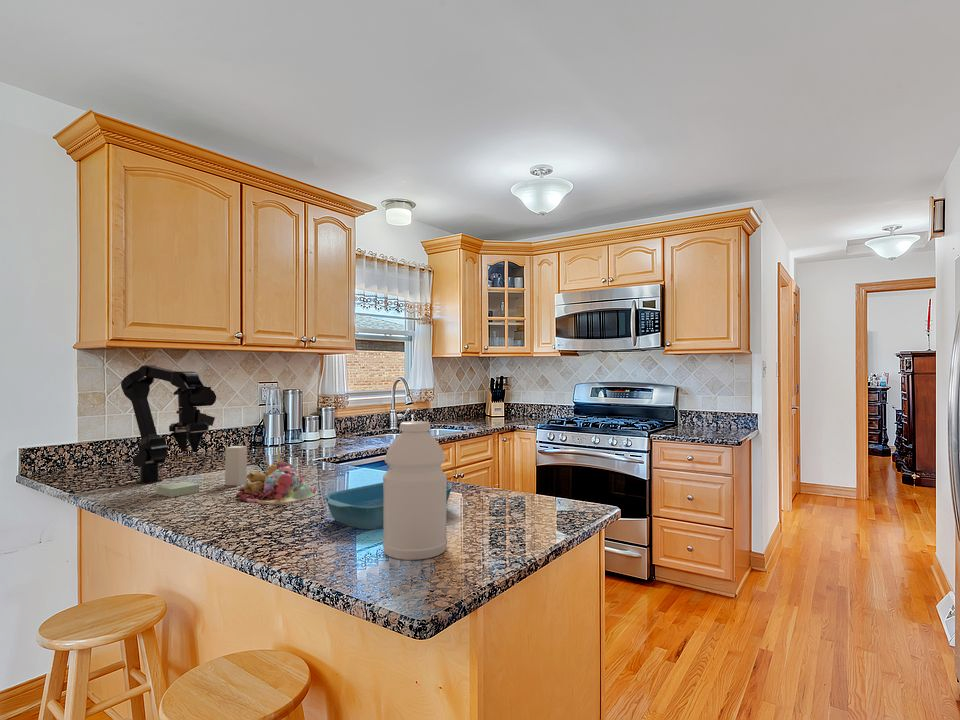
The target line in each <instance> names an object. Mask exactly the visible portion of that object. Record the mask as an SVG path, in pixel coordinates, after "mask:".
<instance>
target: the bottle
mask: <svg viewBox="0 0 960 720" xmlns="http://www.w3.org/2000/svg"><path fill="white" fill-rule="evenodd" d="M399 431H401V433H400V434H398V436H397V437H396V438H395V439H394V440H393V441H392V442H391V444H390V445H389V447H388V449H387V451H386V454H385V455H384V456H385V457H384V463H385V464H386V465H387V466H388V470H387V471H386V472H385V473H384V474H383V476H382V481H383V482H382V483H383V528H382V529H383V531H382V532H383V535H382V536H383V540H382V547H383V553H384V554H385V555H386V556H387V557H390V558H393V559H396V560H406V561H417V560H419V561H420V560H425V559H431V558H434V557H437V556H439V555H441V554H443V553H444V552H445V550H446V549H447V545H448V539H447V504H446V491H447V485H448V484H447V481H448V475H447V473H446V472H444V471H443V469H442V467H441V466H442V465H443V463H444V462H445V461H446V457H445V453H444V451H443V448H442V446H441V445H440V443H439V442H438V441H437V439H436V438H435V437H434V436H433V435H432V434H430V433H429V431H431V423H430V422H429V421H425V420H424V421H423V420H422V421H421V420H416V421H415V420H411V421H409V420H407V421H402V422H400V423H399Z"/></svg>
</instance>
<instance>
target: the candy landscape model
mask: <svg viewBox="0 0 960 720" xmlns="http://www.w3.org/2000/svg"><path fill="white" fill-rule="evenodd" d="M276 467H277V465H272V464H269V465H268V468H267V472H266V471H265V472H264V473H263V472H261V471H259V472H258V471H251V472H249V474H247V476H246V477H247V480H249V482H247V483H245V484H244V487H241V488H240V489H238V492H236V495H235V497H234V499H236V498H238V499H237V500H238V501H243V502H249V503H250V502H251V503H257V504H261V505H271V506H272V505H284V504H286V505H288V504H291V503H292V502H293V503H297V501H298V502H301V501H300V500H302V501H305V499H306V500H309V499H308V498H310V499H311V497H312V498H314V497H313V496H315V497H316V496H317V495H318V491H317V488H316V487H312V486H311V485H309V483H307V482H306V481H304V480H303V476H302V475H303V474H301V473H300V471H299V470H298V471H297V473H296V472H295V468H294V467H293V468H290V466H287V467H283V468H281V467H280V468H279V469H278V470H277V468H276ZM293 503H292V504H293Z"/></svg>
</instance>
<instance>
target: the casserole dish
mask: <svg viewBox="0 0 960 720" xmlns="http://www.w3.org/2000/svg"><path fill="white" fill-rule="evenodd" d="M452 489H453V486H451V485H450V484H447V491H446V505H447V503H448V501H449V498H450V494H451V492H452ZM325 500H326V503H327V507H328V510H329V512H330V514H331V517H332V518H333V519H334V520H335V521H336V522H338V523H341V524H343V525H347V526H350V527H352V528H356V529H360V530H377V529H383V482H379V483H373V484H370V485H368V484H367V485H364V486H359V487H353V488H346V489H343V490H338V491H334V492H333V491H332V492H330V493H328V494H326V496H325Z"/></svg>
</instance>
